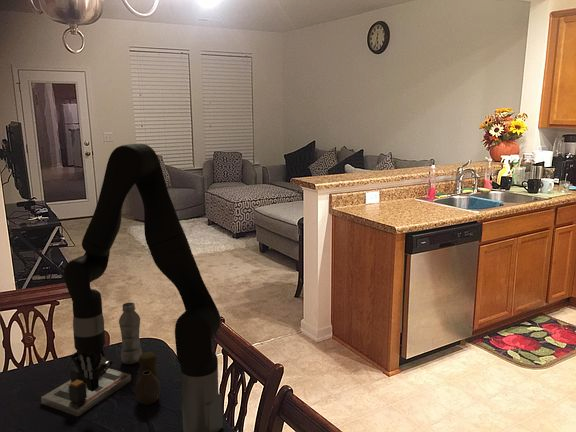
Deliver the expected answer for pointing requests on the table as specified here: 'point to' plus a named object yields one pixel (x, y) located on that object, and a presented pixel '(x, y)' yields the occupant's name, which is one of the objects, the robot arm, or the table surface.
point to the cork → (148, 363)
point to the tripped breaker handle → (77, 391)
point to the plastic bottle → (130, 334)
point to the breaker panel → (107, 386)
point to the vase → (147, 388)
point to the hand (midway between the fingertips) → (93, 389)
